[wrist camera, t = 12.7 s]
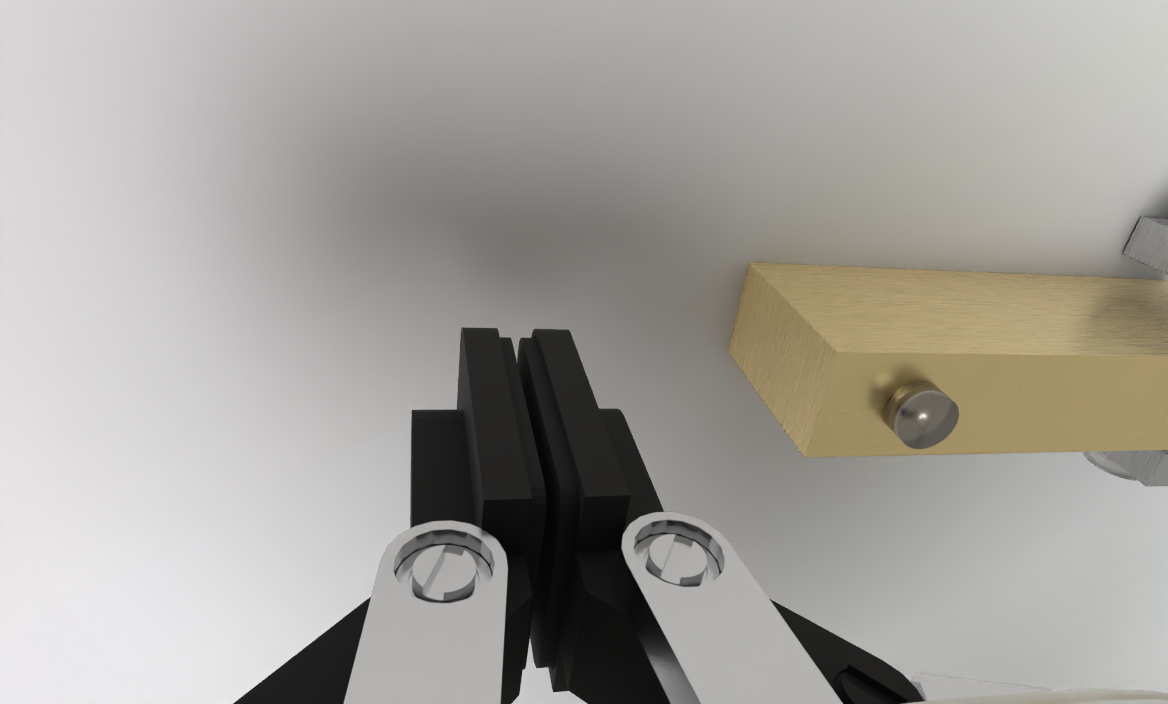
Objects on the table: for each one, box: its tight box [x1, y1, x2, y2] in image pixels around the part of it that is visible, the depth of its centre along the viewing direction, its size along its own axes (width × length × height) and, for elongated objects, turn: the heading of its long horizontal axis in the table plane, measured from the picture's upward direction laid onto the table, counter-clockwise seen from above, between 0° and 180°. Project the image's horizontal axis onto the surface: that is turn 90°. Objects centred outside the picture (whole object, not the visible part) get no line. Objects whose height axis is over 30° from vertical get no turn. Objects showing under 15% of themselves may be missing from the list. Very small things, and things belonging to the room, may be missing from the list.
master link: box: [728, 262, 1168, 457], centre depth 17 cm, size 2×12×5 cm, turn 83°
